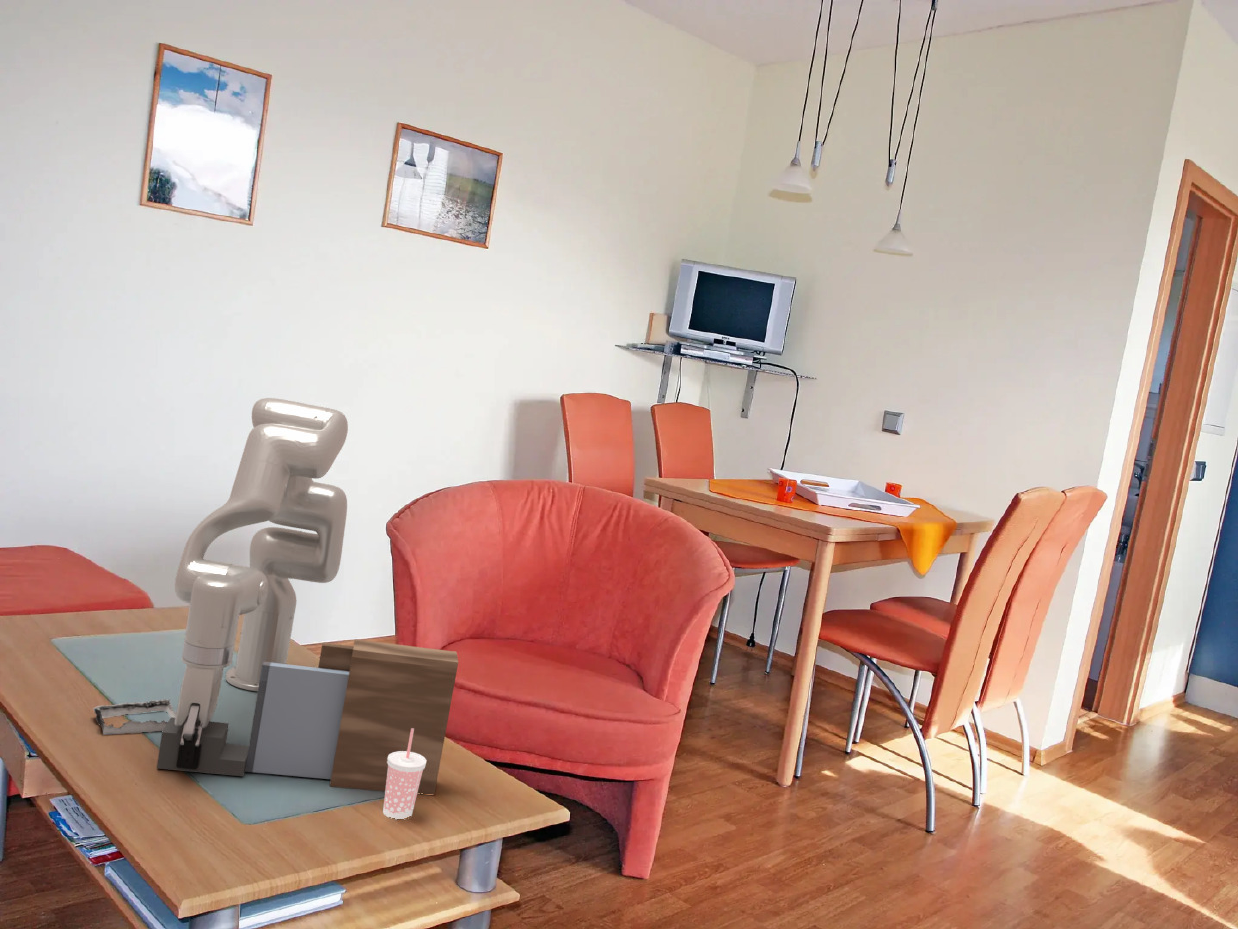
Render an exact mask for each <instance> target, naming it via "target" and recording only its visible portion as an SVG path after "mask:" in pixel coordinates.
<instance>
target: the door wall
mask: <svg viewBox="0 0 1238 929" xmlns="http://www.w3.org/2000/svg"><path fill="white" fill-rule="evenodd" d="M458 666H459V658H458V652H457V651H454V650H453V651H452V650H444V649H439V648H438V649H435V648H428V647H421V646H419V647H418V646H412V645H405V644H395V643H390V642H389V643H388V642H381V641H371V640H363V639H354V642H353V645H346V644H339V643H338V644H337V643H331V642H322V645H321V650H320V655H319V661H318V667H317V668H323V669H332V670H340V671H349V677H348V683H347V688H346V694H345V700H344V706H343V712H342V717H341V723H340V729H339V735H338V741H337V746H336V752H335V758H334V764H333V770H332V775H331V779H330V782H329V787H331V788H333V787H334V788H343V789H344V788H345V789H356V790H363V791H364V790H365V791H375V792H385V789H386V780H387V771H388V763H387V761H388V760H387V758H388V755H389V754H391V753H393V752H397V751H407V749H408V743H409V738H410V732H411V728H414V732H413V738H412V744H411V749H410V752H414V753H417V754H420V755H422V756H423V757H425V759H426V760H427V761H426V766H425V768H424V769H423V772H422V776H421V780H420V784H419V788H418V792H417V793H420V794H421V793H423V794H434V795H435V792H436V788H437V781H438V775H439V770H440V765H441V759H442V754H443V750H444V749H443V748H444V743H445V739H446V738H445V737H446V732H447V726H448V720H449V715H450V710H451V706H452V700H453V693H454V689H455V683H456V677H457V671H458ZM420 794H419V795H420Z"/></svg>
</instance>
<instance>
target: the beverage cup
mask: <svg viewBox="0 0 1238 929" xmlns="http://www.w3.org/2000/svg"><path fill="white" fill-rule="evenodd" d="M413 732H414V728H411V732H410V738H409V743H408V749H407V751H397V752H393V753H391V754H389V755H388V758H387V760H388V761H387V763H388V771H387V780H386V789H385V791H384V798H383V810H382V813H383V815H384V816H386V817H387V818H389V817H391V818H390V819H392V818H395V819H394V820H397V819H404V818H407V817H409V816H411V817H412V816H413V812H414V808H415V803H416V799H417V796H418V794H417V792H418V788H419V784H420V780H421V776H422V772H423V769H424V768H425V766H426V761H427V760H426V759H425V757H423V756H422V755H420V754H417V753H414V752H410V749H411V744H412V738H413ZM404 820H405V819H404Z"/></svg>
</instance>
